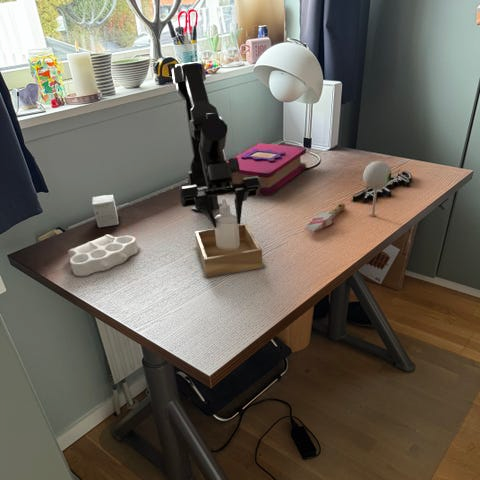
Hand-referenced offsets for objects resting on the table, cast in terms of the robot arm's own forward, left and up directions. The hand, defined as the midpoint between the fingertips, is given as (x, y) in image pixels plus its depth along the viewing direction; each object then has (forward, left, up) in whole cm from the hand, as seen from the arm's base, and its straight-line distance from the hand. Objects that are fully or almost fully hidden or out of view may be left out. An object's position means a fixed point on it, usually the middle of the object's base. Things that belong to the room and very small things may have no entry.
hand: (227, 225), depth 109 cm
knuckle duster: (-31, -13, -10) cm, 35 cm away
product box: (-47, +4, -10) cm, 48 cm away
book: (-24, +55, -10) cm, 61 cm away
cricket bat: (+11, +31, -10) cm, 34 cm away
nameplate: (+17, +60, -10) cm, 63 cm away
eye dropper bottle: (-1, +1, -6) cm, 7 cm away
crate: (-2, +2, -10) cm, 10 cm away
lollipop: (+21, +40, -10) cm, 46 cm away
